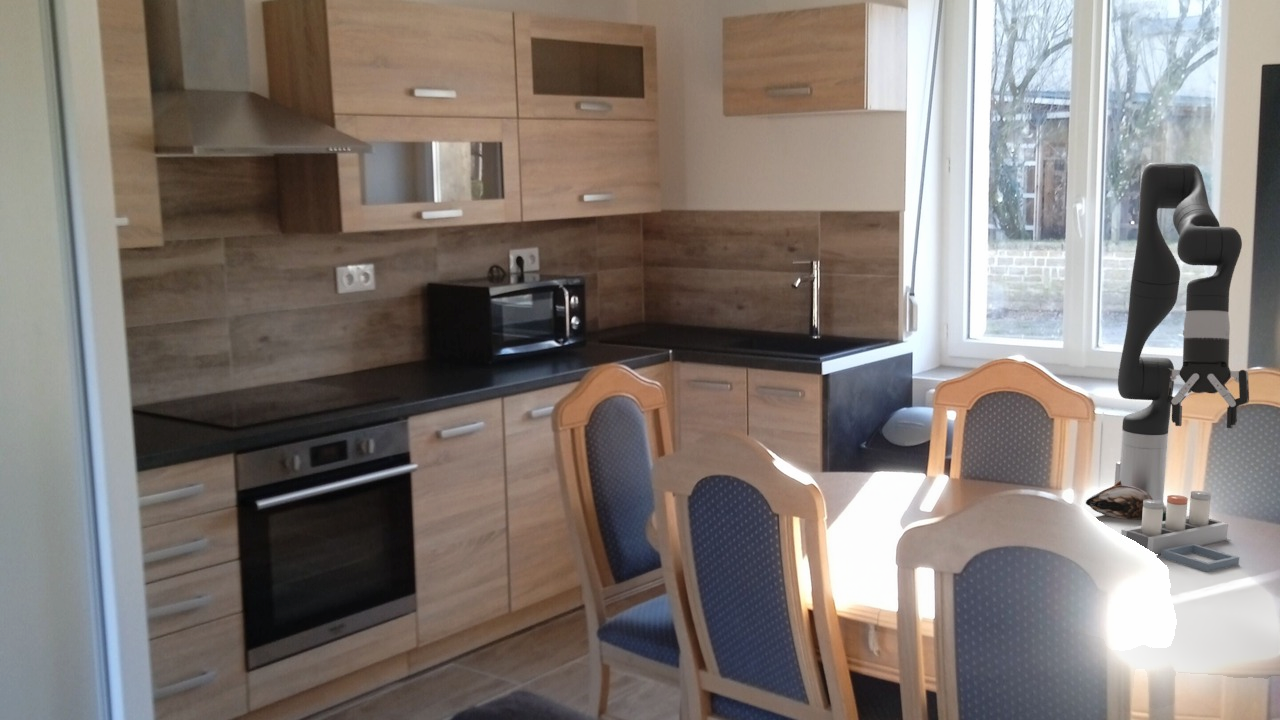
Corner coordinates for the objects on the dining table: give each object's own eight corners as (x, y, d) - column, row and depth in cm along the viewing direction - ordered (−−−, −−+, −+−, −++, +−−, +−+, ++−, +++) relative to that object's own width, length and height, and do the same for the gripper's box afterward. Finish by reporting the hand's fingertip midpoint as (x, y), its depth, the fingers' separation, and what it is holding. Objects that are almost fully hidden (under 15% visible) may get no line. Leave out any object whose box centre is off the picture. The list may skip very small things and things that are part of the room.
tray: (1160, 563, 232) (1161, 550, 232) (1191, 556, 237) (1192, 543, 236) (1207, 578, 224) (1208, 564, 224) (1238, 571, 228) (1239, 557, 228)
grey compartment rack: (1115, 551, 240) (1117, 528, 239) (1193, 535, 251) (1194, 513, 251) (1152, 562, 233) (1154, 540, 232) (1230, 545, 244) (1232, 524, 243)
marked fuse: (1160, 541, 242) (1163, 496, 241) (1172, 538, 244) (1175, 494, 243) (1176, 546, 239) (1179, 500, 238) (1188, 543, 241) (1191, 498, 240)
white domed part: (1183, 536, 246) (1186, 492, 245) (1195, 534, 248) (1198, 490, 246) (1199, 541, 243) (1203, 496, 241) (1211, 538, 245) (1214, 494, 243)
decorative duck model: (1185, 502, 252) (1122, 503, 248) (1179, 537, 254) (1116, 539, 250) (1138, 477, 266) (1077, 479, 262) (1132, 511, 268) (1072, 512, 264)
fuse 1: (1135, 546, 239) (1139, 500, 238) (1148, 543, 241) (1151, 498, 239) (1151, 551, 236) (1155, 505, 235) (1164, 548, 238) (1167, 502, 236)
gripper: (1253, 338, 223) (1250, 429, 223) (1168, 337, 231) (1165, 425, 231) (1246, 336, 217) (1244, 429, 217) (1160, 335, 225) (1157, 425, 224)
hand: (1203, 427), depth 224 cm, fingers open, 8 cm apart
